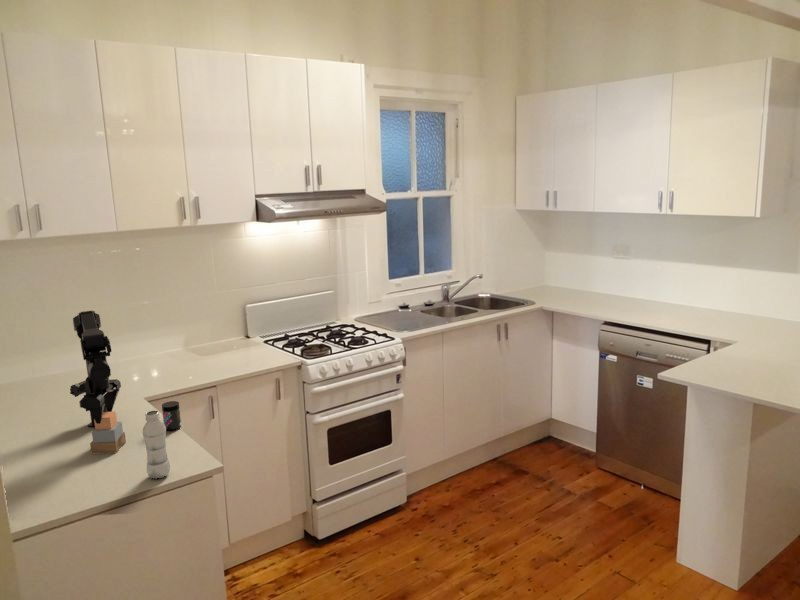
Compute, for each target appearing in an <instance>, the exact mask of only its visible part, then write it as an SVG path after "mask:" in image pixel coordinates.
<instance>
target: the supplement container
mask: <svg viewBox="0 0 800 600" xmlns="http://www.w3.org/2000/svg"><path fill="white" fill-rule="evenodd" d="M161 410H162V411H161V412H162V420H163V421H162V422H163V423H164V425H165V427H166V430H167V431H166V432H175V431H177V430H176V429H178V430H180V429H181V428H182V419H181V418H182V417H181V409H180V402H179V401H178V400H177V401H176V400H174V401H173V400H172V401H166V402H163V403H162V404H161ZM174 430H175V431H174Z"/></svg>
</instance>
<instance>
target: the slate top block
mask: <svg viewBox="0 0 800 600" xmlns="http://www.w3.org/2000/svg"><path fill="white" fill-rule="evenodd" d="M123 429H124V428H123V421H117V424H116V425H115V426H114V427H113V428H112V429H102V430H95V428H93V429H92V431H91V436H92V441H93V443H102V442H116V441H117V440H118V438H119V437H120V436H121V435H122V433H123V432H124V430H123Z"/></svg>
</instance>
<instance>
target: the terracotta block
mask: <svg viewBox="0 0 800 600" xmlns="http://www.w3.org/2000/svg"><path fill="white" fill-rule="evenodd" d="M117 422H118V418H117V412H116V411H112V412H103V415H102V420H101V423H100V424H97V423H96V421H95V419H94V423H95V427H94V429H95V430H102V429H112V428H113V427H114V426H115V425H116V424H117Z"/></svg>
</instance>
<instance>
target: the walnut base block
mask: <svg viewBox="0 0 800 600" xmlns="http://www.w3.org/2000/svg"><path fill="white" fill-rule="evenodd" d="M126 443H127V439H126V432H125V431H123V433H122V435H121V436H120V437H119V438H118V440H117V441H116V442H102V443H93V440H92V441H91V442H90V443H89V444H90V452H91V455H94V454H93V453H105V454H115V453H114V452H117V453H119V451H120V450H121V449H122V448H123V447H124V446H125V444H126ZM121 447H122V448H121ZM120 448H121V449H120ZM119 449H120V450H119Z"/></svg>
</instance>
